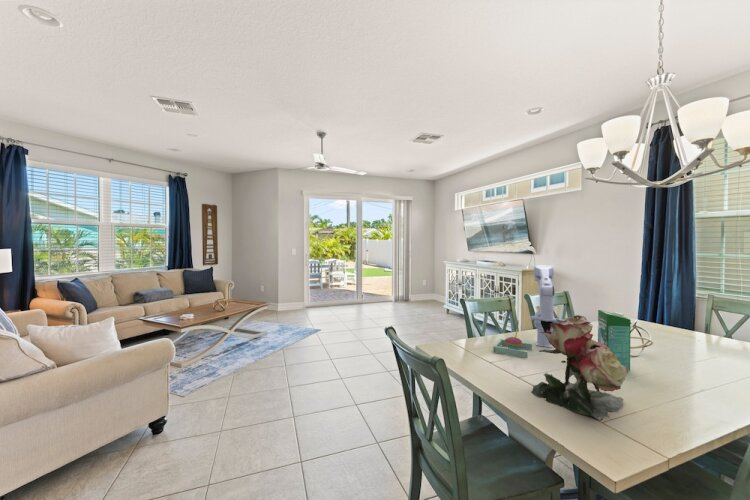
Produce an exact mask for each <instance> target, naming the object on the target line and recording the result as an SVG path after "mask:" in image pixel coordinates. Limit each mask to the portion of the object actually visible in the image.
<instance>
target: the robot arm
mask: <svg viewBox="0 0 750 500" xmlns="http://www.w3.org/2000/svg"><path fill="white" fill-rule="evenodd" d="M554 274H555V271H554V266H553V265H536V264H535V265H533V279H534V281H535V282H537V283H538V290H539V291H538V293H539V294H538V295H539V310H538V311H536V312H535V313H534V315H531V316H530V321H534V322H533V323H534V327H535V328H536V331H537V332H536V337H537V338H536V343H535V346H539V347H546V348H550V349H552V348H553V346H552V345H551V344H550V343H549V341H548V339H547V337H546V336H545V334H543V333H541V332H545V333H546V332H547V330H548V331H551V332H552V330H553V329H552V327H551V323H558V324H559V323H560V322H558V321H557V320H556V319H559V320H560V321H564V319H565V318H564V319H561V318H558V317H557V318H556V317H555V313H554V298H555V296H556V295H555V293H556V289H555V285H554V284H553V279H554Z"/></svg>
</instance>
